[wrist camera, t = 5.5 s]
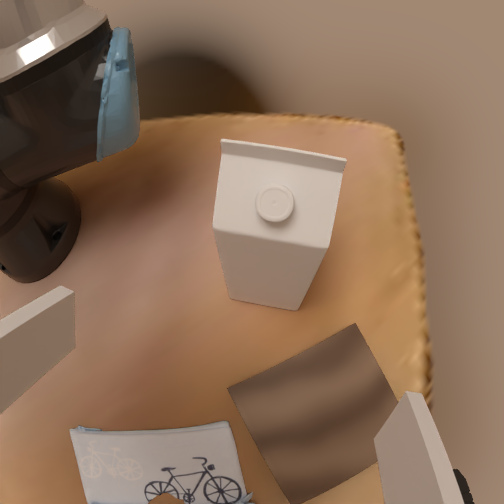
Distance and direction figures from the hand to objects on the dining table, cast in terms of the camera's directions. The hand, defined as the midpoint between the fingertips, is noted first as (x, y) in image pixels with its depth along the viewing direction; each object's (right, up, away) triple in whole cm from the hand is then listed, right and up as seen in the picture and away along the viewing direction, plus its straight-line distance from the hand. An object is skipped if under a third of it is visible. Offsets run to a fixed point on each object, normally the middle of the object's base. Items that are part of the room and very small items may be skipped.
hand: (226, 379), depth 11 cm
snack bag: (-8, -22, +13) cm, 27 cm away
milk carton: (+3, +2, +24) cm, 24 cm away
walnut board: (+8, -12, +17) cm, 22 cm away
